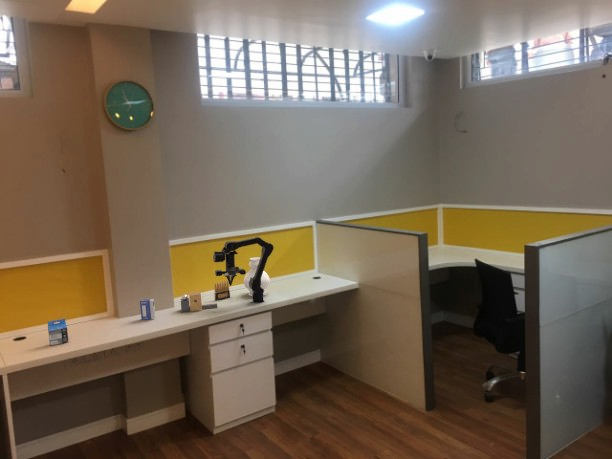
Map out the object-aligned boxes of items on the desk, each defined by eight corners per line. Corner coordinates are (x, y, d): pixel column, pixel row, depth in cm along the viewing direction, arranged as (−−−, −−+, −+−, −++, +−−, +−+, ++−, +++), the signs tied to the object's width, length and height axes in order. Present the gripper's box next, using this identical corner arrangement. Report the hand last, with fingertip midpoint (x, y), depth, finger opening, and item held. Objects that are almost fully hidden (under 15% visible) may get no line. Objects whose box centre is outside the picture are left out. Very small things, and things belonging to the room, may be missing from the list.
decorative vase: (265, 297, 355) (263, 260, 351) (240, 297, 359) (238, 260, 356) (274, 291, 372) (271, 255, 368) (250, 290, 376) (247, 255, 373)
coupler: (216, 305, 341) (215, 290, 340) (217, 308, 335) (216, 292, 333) (181, 309, 337) (180, 293, 335) (181, 312, 330) (180, 296, 329)
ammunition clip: (215, 300, 354) (214, 283, 352) (214, 300, 355) (213, 282, 354) (230, 297, 360) (229, 280, 358) (229, 297, 361) (227, 279, 360)
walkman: (141, 320, 318) (139, 300, 316) (142, 318, 321) (141, 299, 319) (154, 319, 318) (152, 299, 317) (155, 318, 321) (154, 298, 319)
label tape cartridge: (50, 346, 279) (47, 323, 277) (49, 344, 282) (46, 321, 281) (68, 342, 284) (66, 320, 282) (67, 340, 287) (65, 318, 285)
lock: (201, 306, 340) (200, 291, 338) (202, 310, 332) (200, 294, 330) (190, 308, 338) (189, 292, 337) (190, 311, 330) (189, 295, 329)
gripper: (217, 264, 326) (217, 289, 328) (247, 262, 332) (247, 287, 334) (214, 261, 336) (215, 285, 338) (243, 259, 342) (244, 283, 344)
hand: (230, 285), depth 338 cm, fingers closed
